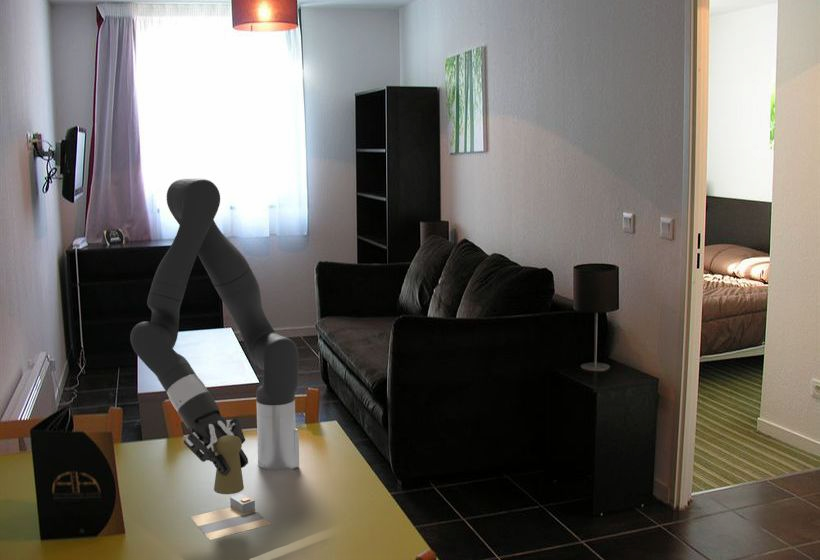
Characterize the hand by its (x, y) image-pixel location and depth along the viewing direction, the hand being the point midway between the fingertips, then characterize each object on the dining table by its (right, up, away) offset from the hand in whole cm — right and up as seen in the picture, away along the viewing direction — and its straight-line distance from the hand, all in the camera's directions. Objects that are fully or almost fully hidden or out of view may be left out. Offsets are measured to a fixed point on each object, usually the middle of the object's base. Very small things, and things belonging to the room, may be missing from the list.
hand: (236, 469), depth 169 cm
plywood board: (-2, -13, +4) cm, 14 cm away
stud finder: (-1, -11, +10) cm, 15 cm away
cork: (-2, -5, +2) cm, 5 cm away
